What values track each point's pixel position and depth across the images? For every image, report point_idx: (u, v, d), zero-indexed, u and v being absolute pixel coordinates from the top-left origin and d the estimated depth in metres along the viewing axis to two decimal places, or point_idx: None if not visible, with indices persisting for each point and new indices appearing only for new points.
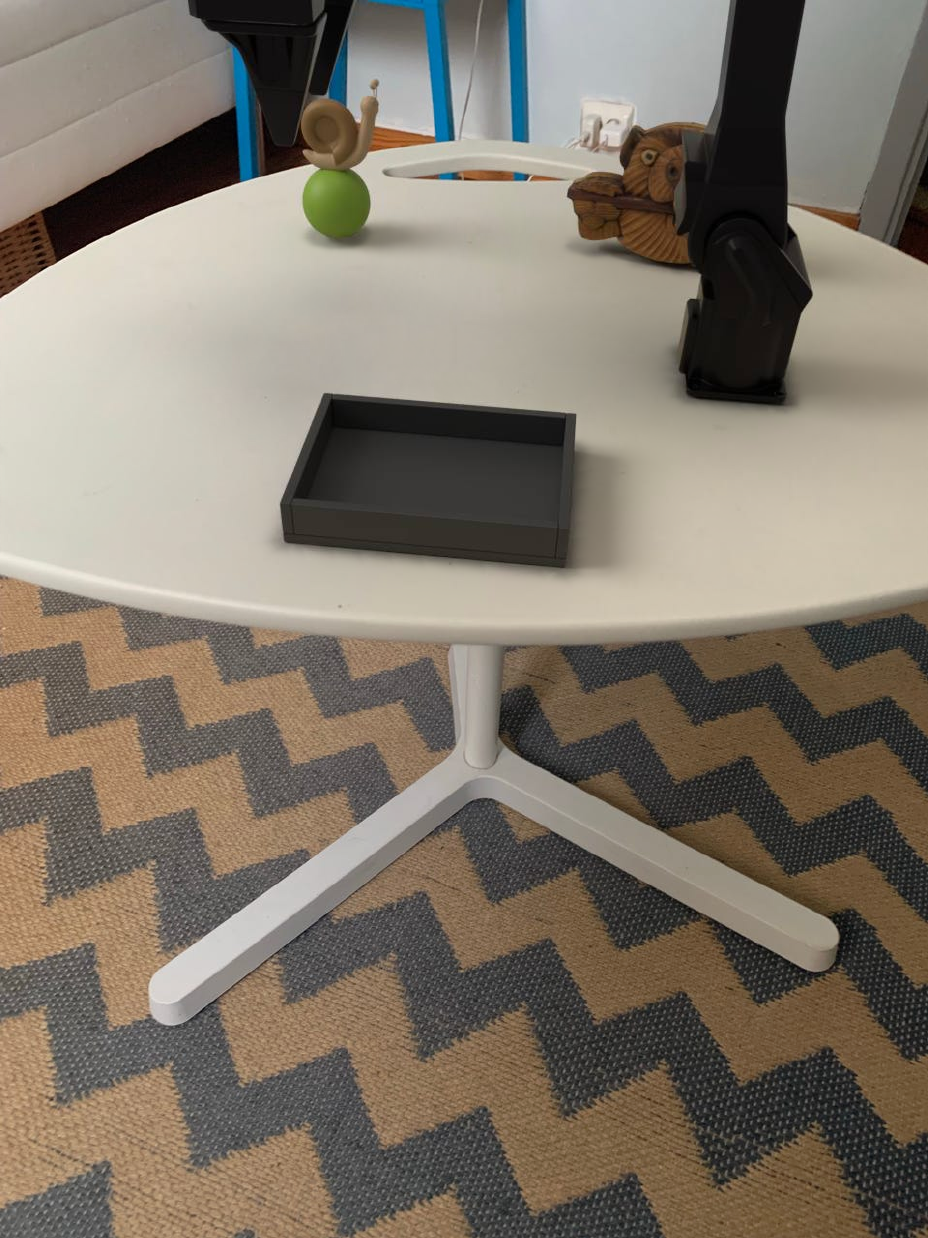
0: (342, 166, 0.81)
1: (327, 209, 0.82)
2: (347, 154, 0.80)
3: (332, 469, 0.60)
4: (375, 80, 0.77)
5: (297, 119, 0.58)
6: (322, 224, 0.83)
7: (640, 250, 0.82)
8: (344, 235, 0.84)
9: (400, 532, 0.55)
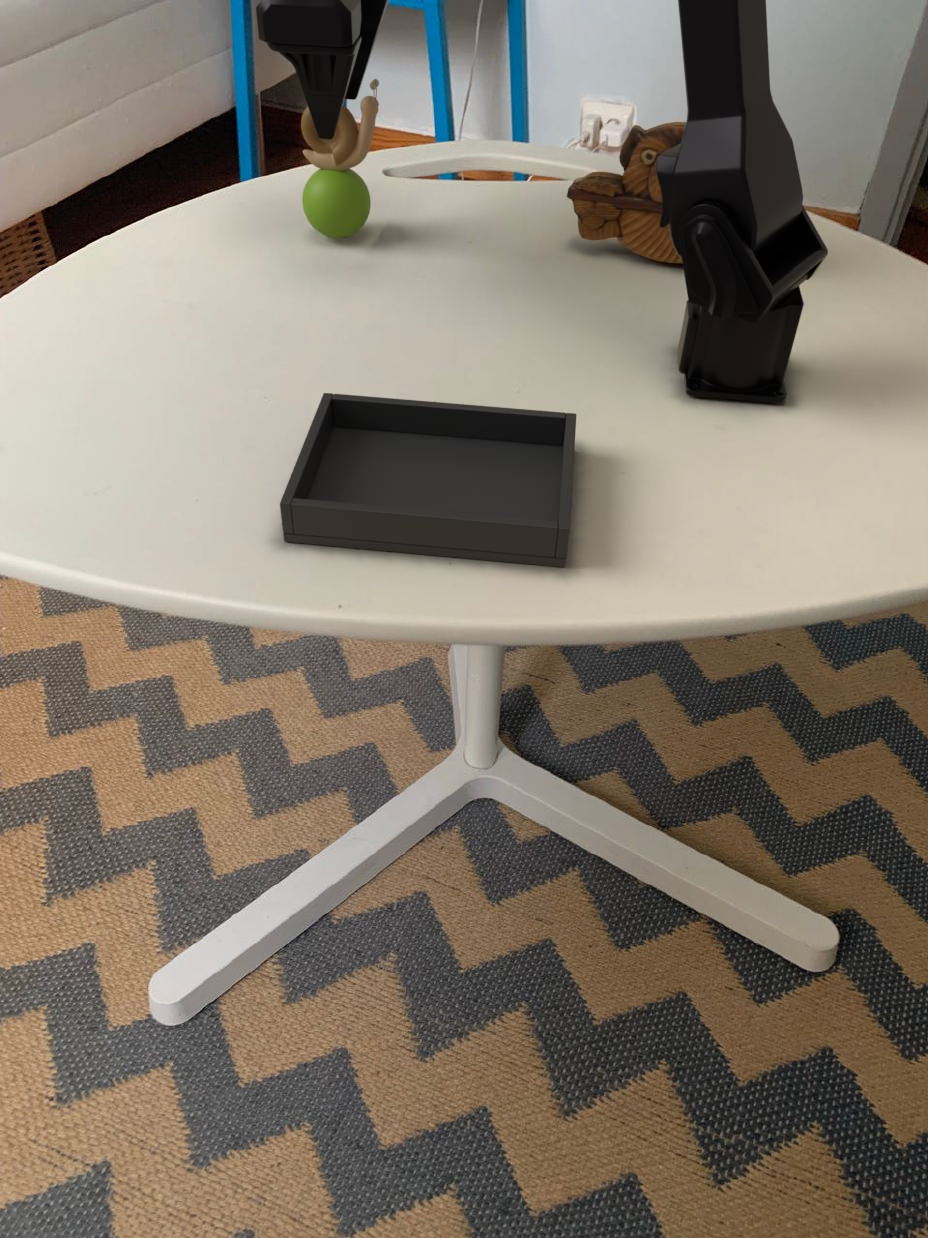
0: (342, 166, 0.81)
1: (327, 209, 0.82)
2: (347, 153, 0.80)
3: (332, 469, 0.60)
4: (375, 80, 0.77)
5: (337, 118, 0.74)
6: (322, 224, 0.83)
7: (640, 250, 0.82)
8: (344, 235, 0.84)
9: (400, 532, 0.55)
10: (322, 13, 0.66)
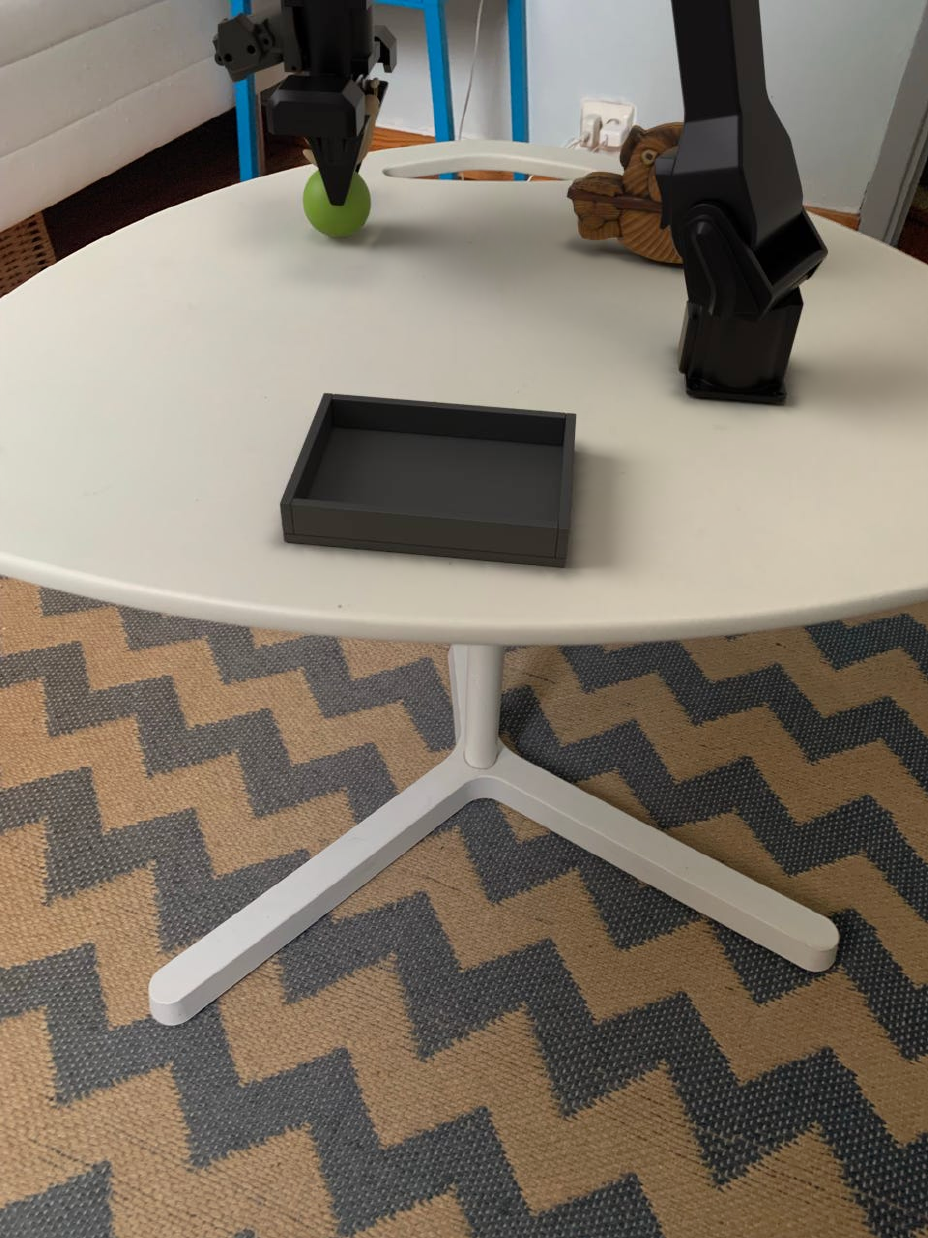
0: None
1: (328, 208, 0.82)
2: None
3: (332, 469, 0.60)
4: (376, 78, 0.77)
5: (347, 187, 0.80)
6: (323, 223, 0.83)
7: (640, 250, 0.82)
8: (345, 234, 0.84)
9: (400, 532, 0.55)
10: (328, 109, 0.70)
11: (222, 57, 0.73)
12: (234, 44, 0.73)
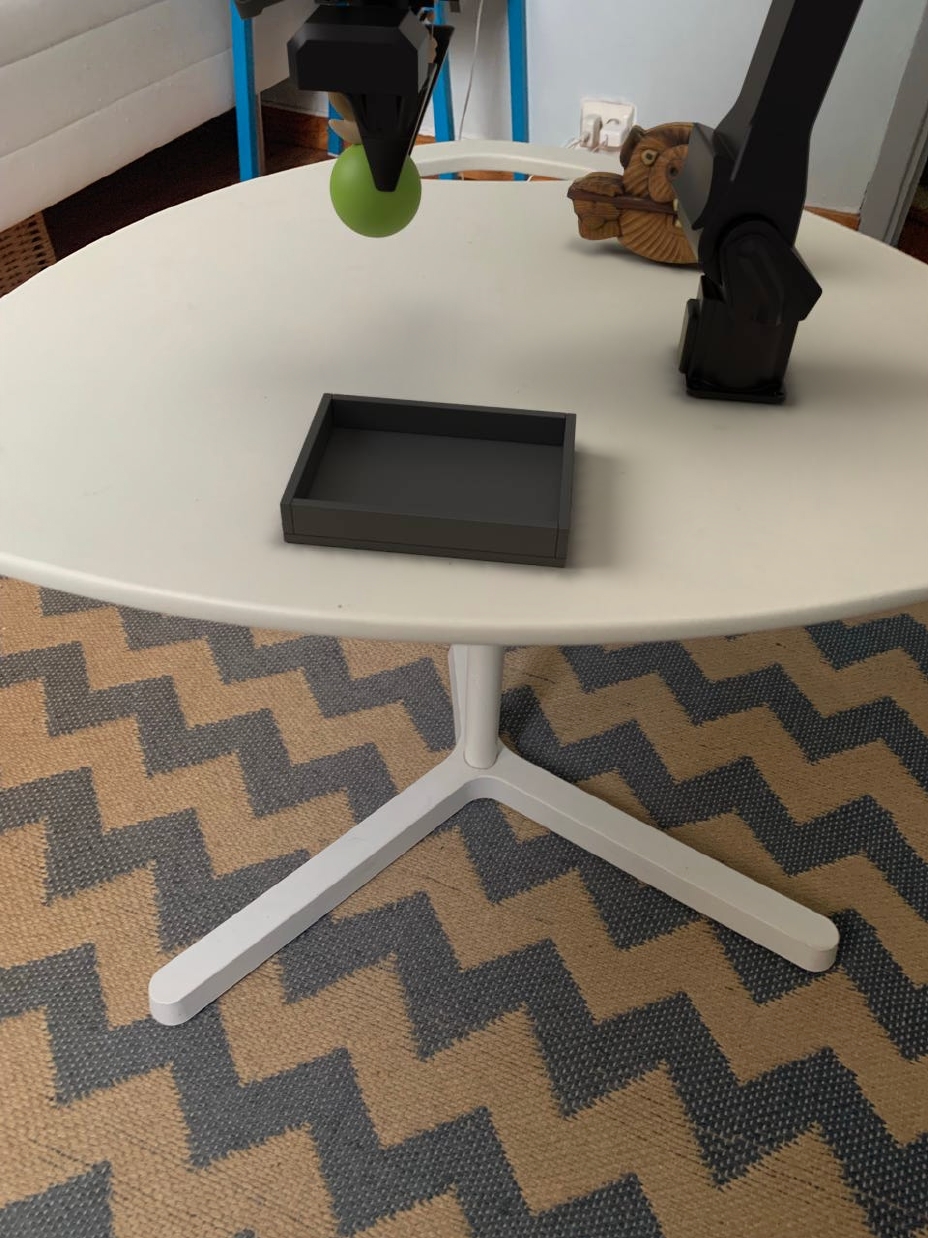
0: None
1: (374, 196, 0.60)
2: None
3: (332, 469, 0.60)
4: (432, 10, 0.56)
5: (401, 166, 0.58)
6: (365, 217, 0.60)
7: (640, 250, 0.82)
8: (392, 232, 0.62)
9: (400, 532, 0.55)
10: (378, 52, 0.48)
11: None
12: None
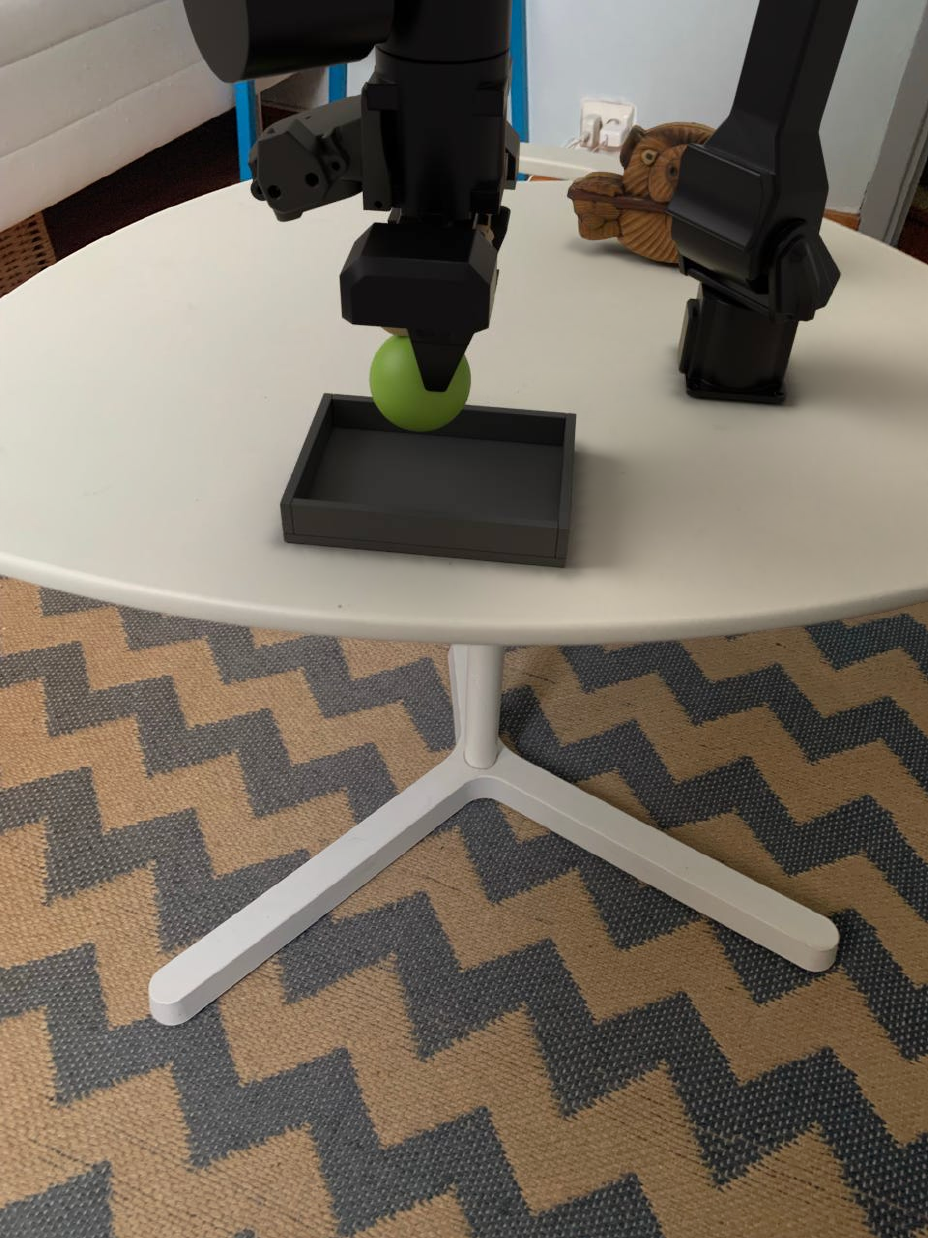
0: None
1: (421, 396, 0.54)
2: None
3: (332, 469, 0.60)
4: None
5: (455, 369, 0.52)
6: (411, 416, 0.54)
7: (640, 250, 0.82)
8: (439, 427, 0.56)
9: (400, 532, 0.55)
10: (445, 289, 0.42)
11: (264, 191, 0.45)
12: (284, 172, 0.44)
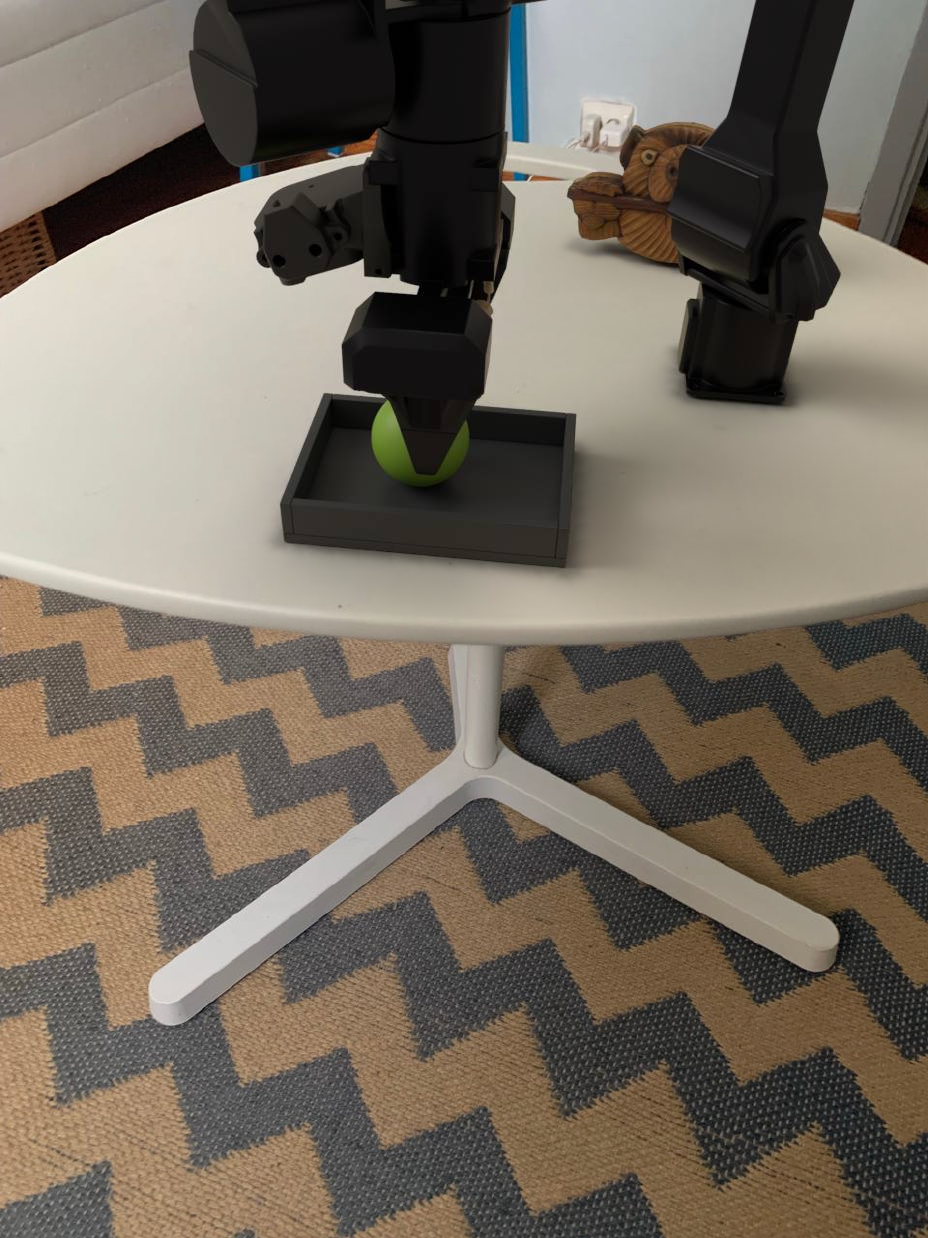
0: None
1: None
2: None
3: (332, 469, 0.60)
4: None
5: (445, 455, 0.52)
6: (410, 476, 0.57)
7: (640, 250, 0.82)
8: (437, 483, 0.58)
9: (400, 532, 0.55)
10: (442, 359, 0.44)
11: (269, 260, 0.47)
12: (289, 243, 0.46)
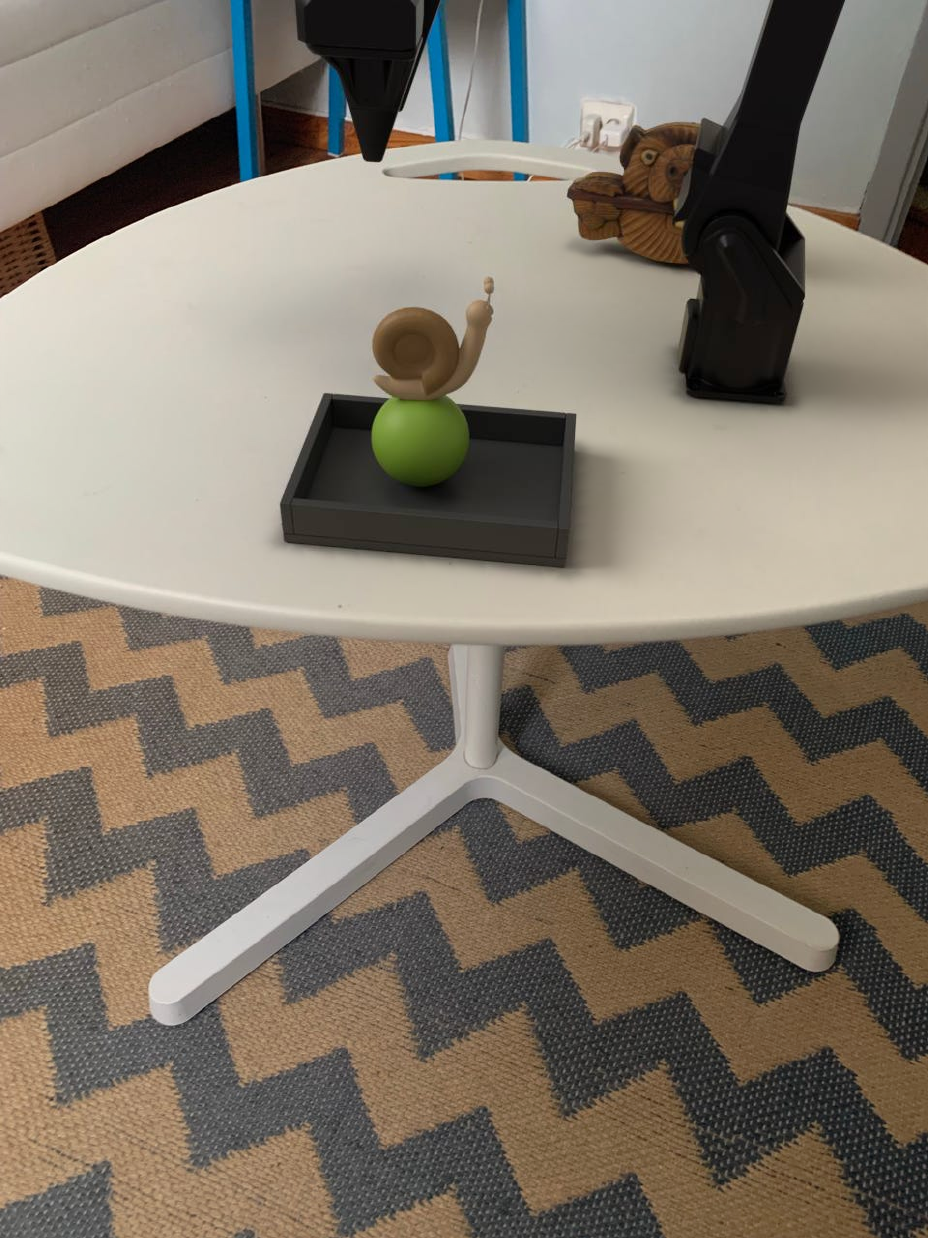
0: (435, 395, 0.56)
1: (420, 459, 0.56)
2: (445, 379, 0.55)
3: (332, 469, 0.60)
4: (489, 279, 0.52)
5: (388, 137, 0.60)
6: (410, 476, 0.57)
7: (640, 250, 0.82)
8: (437, 483, 0.58)
9: (400, 532, 0.55)
10: (379, 7, 0.52)
11: None
12: None
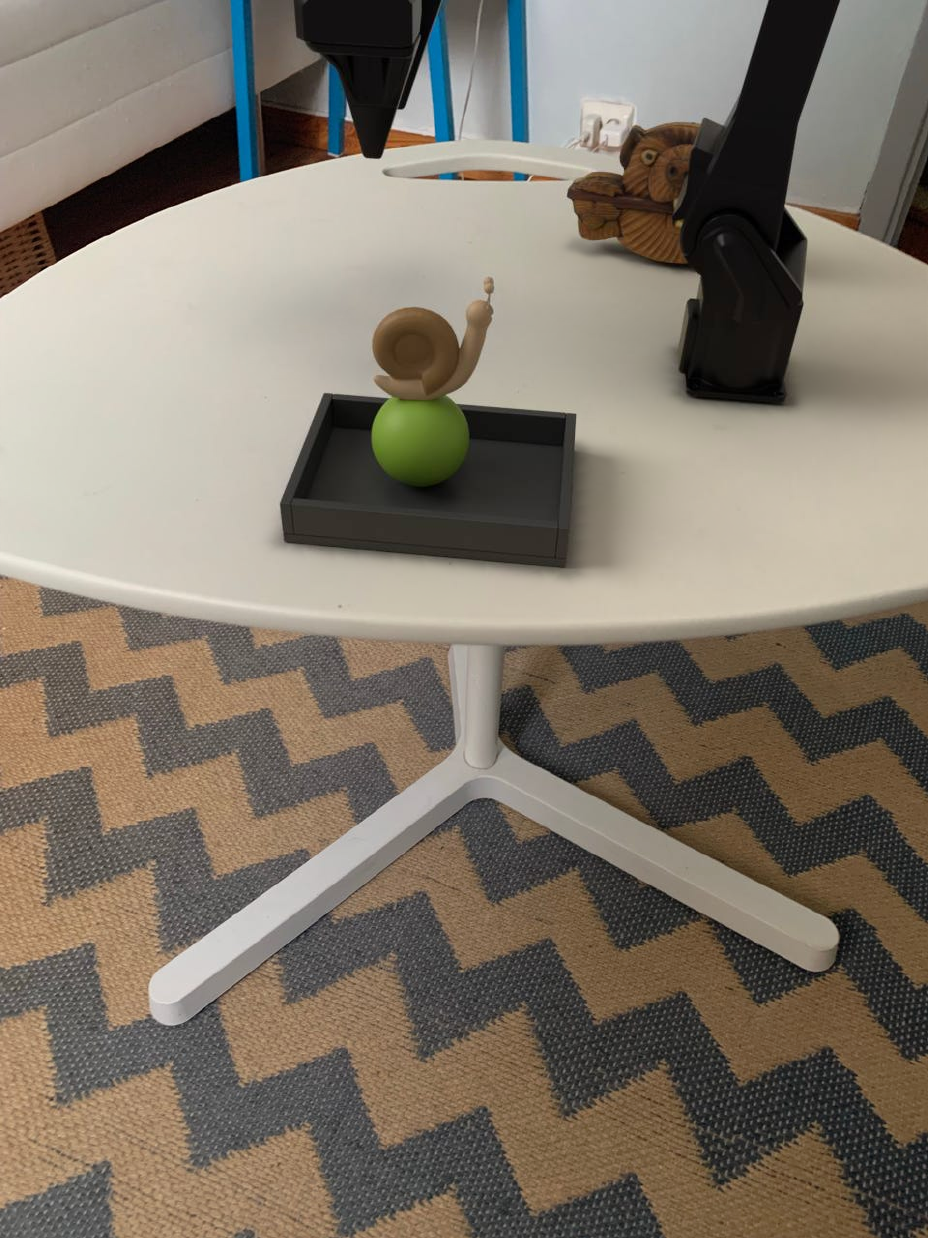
0: (435, 395, 0.56)
1: (420, 459, 0.56)
2: (445, 379, 0.55)
3: (332, 469, 0.60)
4: (489, 279, 0.52)
5: (387, 133, 0.61)
6: (410, 476, 0.57)
7: (640, 250, 0.82)
8: (437, 483, 0.58)
9: (400, 532, 0.55)
10: (376, 5, 0.53)
11: None
12: None
